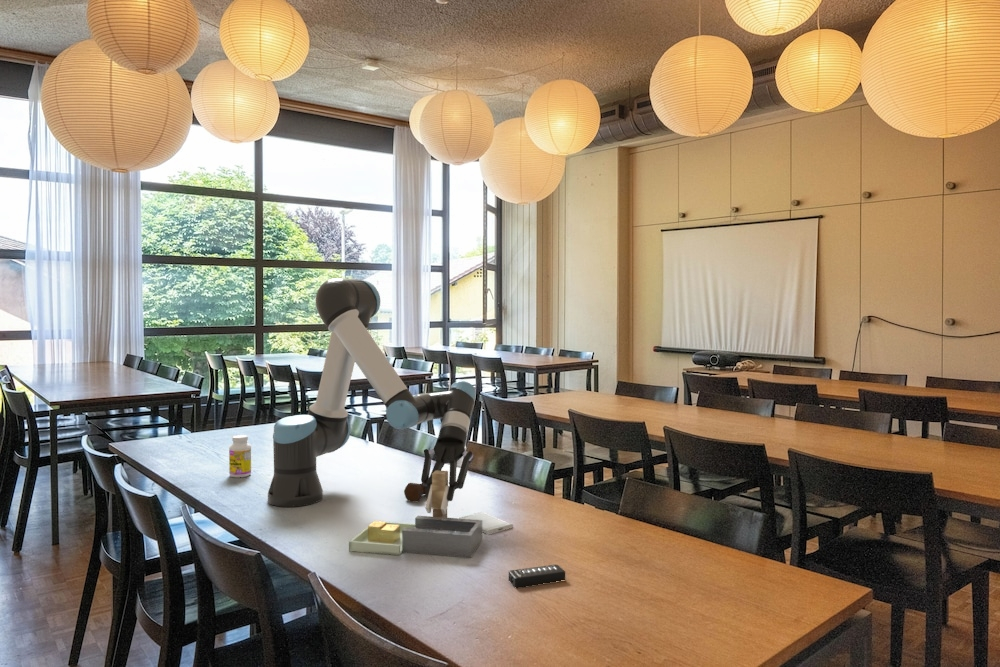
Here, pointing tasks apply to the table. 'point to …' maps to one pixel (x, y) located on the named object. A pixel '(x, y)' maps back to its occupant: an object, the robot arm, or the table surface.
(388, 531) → the tan wooden block
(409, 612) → the table surface
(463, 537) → the gray open box
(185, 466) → the table surface
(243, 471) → the supplement bottle
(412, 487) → the bolt
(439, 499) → the tan wooden pedestal block
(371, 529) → the light wood block
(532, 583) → the multiport hub
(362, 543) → the tray
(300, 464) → the robot arm
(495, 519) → the hard drive
